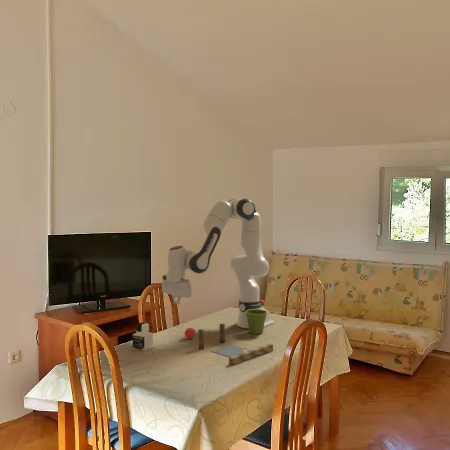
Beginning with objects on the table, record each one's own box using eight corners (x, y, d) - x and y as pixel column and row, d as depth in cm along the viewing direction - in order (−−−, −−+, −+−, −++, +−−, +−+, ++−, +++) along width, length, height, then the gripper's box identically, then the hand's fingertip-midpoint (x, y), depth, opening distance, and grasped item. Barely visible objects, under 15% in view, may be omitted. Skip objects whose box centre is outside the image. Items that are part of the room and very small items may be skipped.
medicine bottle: (132, 348, 241) (131, 324, 240) (141, 344, 247) (141, 320, 246) (144, 351, 237) (144, 326, 236) (153, 346, 244) (153, 322, 243)
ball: (190, 336, 261) (190, 325, 261) (197, 338, 257) (197, 327, 257) (182, 338, 257) (182, 327, 257) (189, 340, 253) (189, 329, 253)
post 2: (222, 340, 253) (222, 323, 252) (225, 342, 251) (225, 324, 250) (218, 342, 251) (218, 324, 250) (222, 343, 249) (222, 325, 249)
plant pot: (268, 335, 262) (268, 314, 261) (245, 335, 262) (245, 314, 261) (266, 329, 274) (266, 309, 273) (245, 329, 274) (245, 309, 273)
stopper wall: (269, 349, 238) (269, 343, 238) (273, 350, 237) (273, 344, 237) (228, 364, 218) (228, 357, 218) (232, 365, 217) (232, 358, 217)
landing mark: (232, 345, 246) (232, 344, 246) (253, 351, 236) (253, 350, 236) (211, 351, 236) (211, 351, 236) (233, 358, 226) (233, 358, 226)
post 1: (201, 347, 243) (201, 328, 242) (205, 348, 241) (205, 329, 240) (197, 348, 241) (197, 330, 240) (201, 349, 239) (201, 331, 238)
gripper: (194, 279, 256) (194, 305, 257) (169, 274, 271) (169, 299, 271) (185, 280, 252) (185, 307, 253) (159, 275, 266) (160, 301, 267)
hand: (176, 303), depth 262 cm, fingers closed
